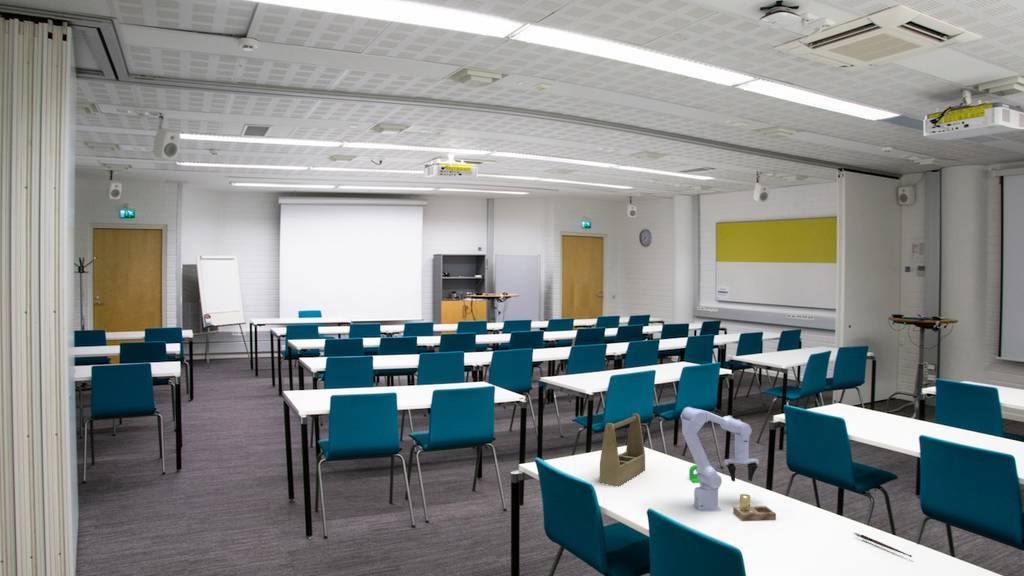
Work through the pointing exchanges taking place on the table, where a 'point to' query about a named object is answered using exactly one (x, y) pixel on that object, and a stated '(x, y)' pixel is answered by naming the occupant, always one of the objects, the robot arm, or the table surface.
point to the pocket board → (755, 513)
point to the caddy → (627, 463)
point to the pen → (879, 543)
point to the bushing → (744, 502)
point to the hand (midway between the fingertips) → (741, 480)
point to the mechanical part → (693, 476)
